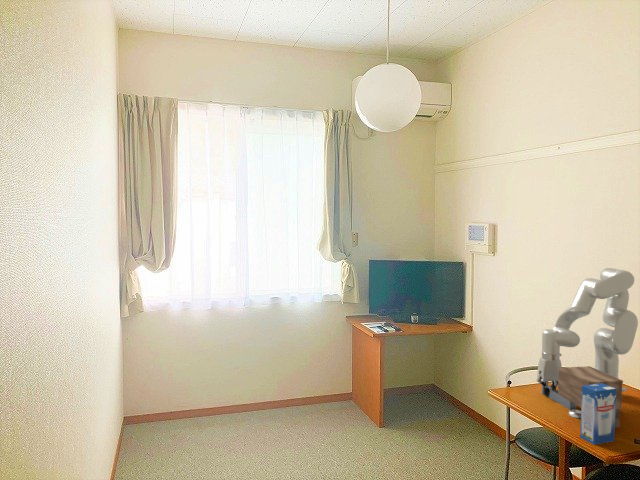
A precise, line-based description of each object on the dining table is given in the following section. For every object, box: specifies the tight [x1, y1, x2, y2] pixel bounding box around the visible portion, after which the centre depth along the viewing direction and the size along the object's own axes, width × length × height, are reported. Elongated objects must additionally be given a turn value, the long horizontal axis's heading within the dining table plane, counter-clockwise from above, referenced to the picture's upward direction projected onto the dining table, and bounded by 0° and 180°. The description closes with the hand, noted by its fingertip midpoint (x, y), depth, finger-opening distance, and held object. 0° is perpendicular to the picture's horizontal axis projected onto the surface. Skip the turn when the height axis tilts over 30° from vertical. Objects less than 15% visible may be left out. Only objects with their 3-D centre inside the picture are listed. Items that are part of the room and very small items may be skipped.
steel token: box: [568, 409, 581, 419], centre depth 203 cm, size 6×6×2 cm
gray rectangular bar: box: [541, 384, 577, 411], centre depth 219 cm, size 3×20×4 cm, turn 9°
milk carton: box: [579, 383, 616, 446], centre depth 181 cm, size 10×6×20 cm, turn 108°
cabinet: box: [557, 366, 624, 429], centre depth 199 cm, size 15×19×19 cm
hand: (549, 394), depth 225 cm, fingers closed on gray rectangular bar, 2 cm apart
